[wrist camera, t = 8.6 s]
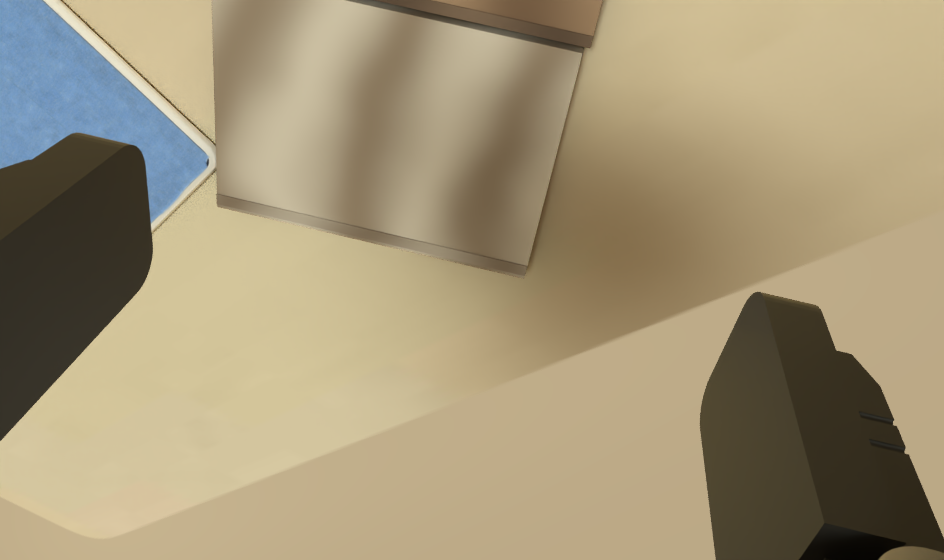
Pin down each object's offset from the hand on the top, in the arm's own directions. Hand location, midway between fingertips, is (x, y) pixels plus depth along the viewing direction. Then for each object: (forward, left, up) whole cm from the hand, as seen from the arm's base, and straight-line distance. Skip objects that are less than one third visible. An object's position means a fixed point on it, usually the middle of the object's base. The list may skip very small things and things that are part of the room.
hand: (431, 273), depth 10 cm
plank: (+6, +10, -26) cm, 29 cm away
